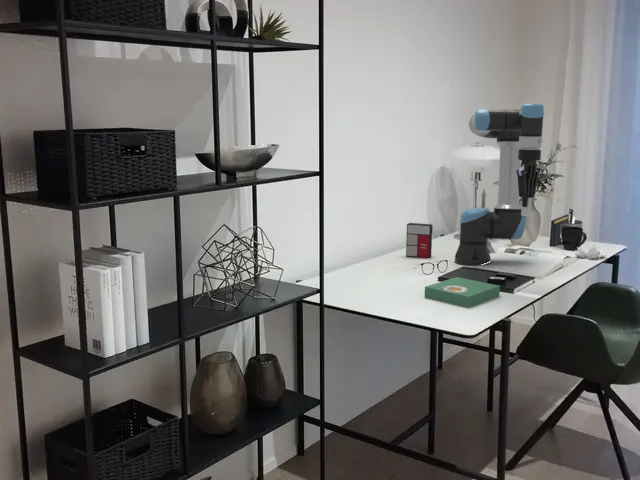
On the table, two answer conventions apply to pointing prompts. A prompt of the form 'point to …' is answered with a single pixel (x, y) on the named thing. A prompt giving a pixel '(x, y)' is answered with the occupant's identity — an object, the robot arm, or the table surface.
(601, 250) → the lotus flower
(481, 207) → the eiffel tower
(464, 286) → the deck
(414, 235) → the grey and red block
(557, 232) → the dark blue book
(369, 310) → the table surface
